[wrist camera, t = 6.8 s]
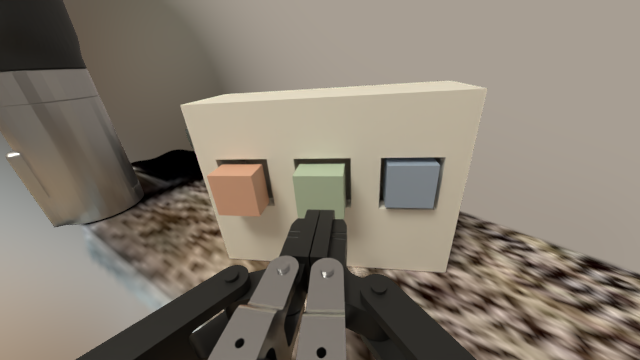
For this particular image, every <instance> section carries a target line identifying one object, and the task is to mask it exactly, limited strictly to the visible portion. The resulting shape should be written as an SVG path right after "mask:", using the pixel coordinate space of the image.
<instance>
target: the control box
mask: <svg viewBox="0 0 640 360" xmlns="http://www.w3.org/2000/svg"><path fill="white" fill-rule="evenodd" d="M486 93H487V88H483V87H478V86H474V85H469V84H464V83H459V82H454V81H435V82H419V83H402V84H386V85H371V86H353V87H337V88H322V89H321V88H320V89H304V90H289V91H272V92H255V93H239V94H224V95H220V96H216V97H212V98H208V99H204V100H200V101H196V102H192V103H187V104H183V105H180V106H181V109H182V112H183V115H184V118H185V121H186V125H187V128H188V131H189V134H190V137H191V140H192V143H193V147H194V150H195V153H196V156H197V159H198V162H199V165H200V168H201V171H202V175H203V178H204V181H205V184H206V187H207V190H208V193H209V196H210V200H211V203H212V206H213V209H214V212H215V215H216V218H217V221H218V224H219V228H220V231H221V234H222V237H223V240H224V243H225V246H226V249H227V253H228V256H229V258H230V259H245V260H260V261H272V260H274V259H275V258H277V257H279V255H280V253H281V250H282V248H283V245H284V242H285V240H286V237H287V235H288V232H289V230H290V227H291V225H292V223H293V222H294V221H295V220H296V219H297V218H298V214H297V207H296V200H295V192H294V185H293V177H292V176H293V174H294V173H295V171H296V169H297V167H298V166H299V164H345V191H346V206H345V216H344V221H345V223H346V225H347V266H351V267H366V268H382V269H397V270H412V271H427V272H442V273H445V272H446V268H447V264H448V259H449V255H450V250H451V246H452V242H453V237H454V233H455V229H456V224H457V220H458V216H459V211H460V207H461V202H462V198H463V194H464V189H465V185H466V181H467V176H468V172H469V167H470V163H471V159H472V154H473V150H474V146H475V141H476V136H477V132H478V128H479V124H480V119H481V115H482V110H483V106H484V101H485V97H486ZM416 157H434V158H435V159H436V161H437V162H438V163H439V165H440V170H439V176H438V182H437V188H436V194H435V200H434V206H433V208H392V207H385V204H384V198H383V178H384V160H385V158H416ZM225 164H262V166H263V171H264V176H265V181H266V186H267V191H268V197H269V203H268V205H267V206H266V208H265V209H264V211H263V213H262V214H261V216H229V215H219V214H218V210H217V207H216V204H215V201H214V198H213V194H212V191H211V188H210V185H209V182H208V179H207V175H209V174H210V173H211V172H213V171H214V170H215V169H217V168H218V167H219V166H221V165H225Z"/></svg>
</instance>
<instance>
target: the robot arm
mask: <svg viewBox="0 0 640 360" xmlns="http://www.w3.org/2000/svg"><path fill="white" fill-rule="evenodd" d="M0 132H1V133H2V135H3V136H4V138H5V139H6V141H7V142H8V144H9V145H10V147H11V148H12V151H10V152H8V153H7V154H6V156H5V157H6V159H7V161H8V162H9V163H10V165H11V166H12V168H13V169H14V170H15V172H16V173H17V175H18V176H19V178H20V179H21V180H22V182H23V183H24V185H25V186H26V188H27V189H28V190H29V191H30V193H31V195H32V196H33V197H34V199H35V200H36V202H37V203H38V204H39V206H40V207H41V209H42V210H43V212H44V213H45V215H46V216H47V217H48V219H49V220H50V221H51V223H52V224H53V226H54V227H59V226H63V225H77V224H85V223H90V222H94V221H98V220H101V219H104V218H107V217H110V216H113V215H115V214H118V213H120V212H122V211H124V210H126V209H128V208H130V207H132V206H133V205H135V204H136V203H138V202H139V201H140V200H141V199H142V198H143V196H144V192H143V190H142V187H141V185H140V182H139V180H138V179H137V177H136V174H135V172H134V170H133V168H132V165H131V163H130V161H129V159H128V157H127V155H126V153H125V150H124V148H123V146H122V144H121V142H120V139H119V137H118V135H117V134H116V131H115V129H114V126H113V124H112V122H111V120H110V118H109V116H108V114H107V111H106V109H105V107H104V105H103V103H102V101H101V98H100V96H99V94H98V92H97V90H96V88H95V85H94V83H93V81H92V79H91V77H90V74H89V72H88V70H87V69H86V65H85V63H84V61H83V59H82V56H81V52H80V46H79V41H78V38H77V35H76V32H75V30H74V27H73V25H72V23H71V20H70V18H69V15H68V13H67V10H66V8H65V5H64V3H63V0H0ZM346 266H347V225H346V223H345V221H344V219H335V211H334V210H311V209H308V210H307V211H306V214H305V217H304V218H297V219H296V220H295V221H294V222H293V223H292V225H291V227H290V230H289V232H288V235H287V237H286V240H285V242H284V245H283V248H282V250H281V253H280V255H279V257H277V258H275V259H274V260H272V261H271V262H270V263H269V265H268V267H267V269H264V270H260V271H256V272H251V273H248V270H247V268H246V267H244V266H241V265H234V266H230V267H228V268H226V269H224V270H222V271H221V272H219V273H217V274H216V275H214V276H213V277H211V278H209V279H208V280H206V281H204V282H203V283H201V284H199V285H198V286H196V287H194V288H193V289H191V290H189V291H188V292H186V293H185V294H183V295H181V296H180V297H178V298H176V299H175V300H173V301H171V302H170V303H168V304H166V305H165V306H163V307H161V308H160V309H158V310H157V311H155V312H153V313H152V314H150V315H148V316H147V317H145V318H144V319H142V320H140V321H139V322H137V323H135V324H133V325H132V326H130V327H129V328H127V329H125V330H124V331H122V332H120V333H119V334H117V335H115V336H114V337H112V338H110V339H109V340H107V341H106V342H104V343H102V344H101V345H99V346H97V347H96V348H94V349H92V350H91V351H89V352H87V353H86V354H84V355H82V356H81V357H79V358H78V359H76V360H292V352H293V348H294V345H295V341H296V338H297V334H298V331H299V327H300V324H301V327H300V335H299V342H298V349H297V357H296V360H346V331H345V328H348V329H350V330H352V331H354V332H356V333H358V334H360V336H361V338H362V340H363V342H364V343H365V344H366V346H367V347H368V349H369V350H370V351H371V353H372V354H373V356H374V357H375V358H376V360H476V359H475V358H474V357H473V356H472V355H471V354H470V353H469V352H468V351H467V350H466V349H465V348H464V347H462V346H461V345H460V344H459V343H458V342H457V341H456V340H455V339H454V338H453V337H452V336H451V335H450V334H449V333H447V332H446V331H445V330H444V329H443V328H442V327H441V326H440V325H439V324H438V323H437V322H436V321H435V320H434V319H433V318H431V317H430V316H429V315H428V314H427V313H426V312H425V311H424V310H423V309H422V308H421V307H420V306H419V305H418V304H416V303H415V302H414V301H413V300H412V299H411V298H410V297H409V296H408V295H407V294H406V293H405V292H404V291H403V290H402V289H400V288H399V287H398V286H397V285H396V284H395V283H394V282H393V281H392V280H391V279H389V278H388V277H386V276H384V275H380V274H372V275H369V276H366V277H365V278H361V277H358V276H356V275H354V274H352V273H351V272H350V271H349V270H348V269H347V267H346ZM307 293H308V297H307V305H306V311H305V312H304V310H305V304H304V303H305V299H306V294H307ZM223 309H224V312H223V313H221V314H220V315H218V316H217V317H216V318H214V319H213V320H211V321H210V322H209V323H207V324H206V325H204V326H203V327H202V328H200V329H199V330H197V331H196V332H194V333H192V332H193V331H194V330H195V329H196V328H198V327H199V326H201V325H202V324H203V323H205V322H206V321H208V320H209V319H210V318H212V317H213V316H215V315H216V314H217V313H219V312H220V311H222V310H223Z"/></svg>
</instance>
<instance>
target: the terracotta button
mask: <svg viewBox="0 0 640 360" xmlns="http://www.w3.org/2000/svg"><path fill="white" fill-rule="evenodd" d="M207 179H208V182H209V185H210V188H211V191H212V194H213V198H214V201H215V204H216V207H217V210H218V214H219V215H229V216H261V214H262V213H263V211H264V209H265V208H266V206H267V205H268V203H269V197H268V191H267V186H266V181H265V176H264V171H263V166H262V164H225V165H221V166H219V167H218V168H217V169H215V170H214V171H213V172H211V173H210V174H209V175H207Z"/></svg>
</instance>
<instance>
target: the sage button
mask: <svg viewBox="0 0 640 360" xmlns="http://www.w3.org/2000/svg"><path fill="white" fill-rule="evenodd" d="M292 177H293V185H294V192H295V200H296V207H297V214H298V218H304V217H305V214H306V211H307V210H308V209H311V210H334V211H335V219H344V216H345V206H346V191H345V164H299V166H298V167H297V169H296V171H295V173H294V174H293V176H292Z"/></svg>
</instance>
